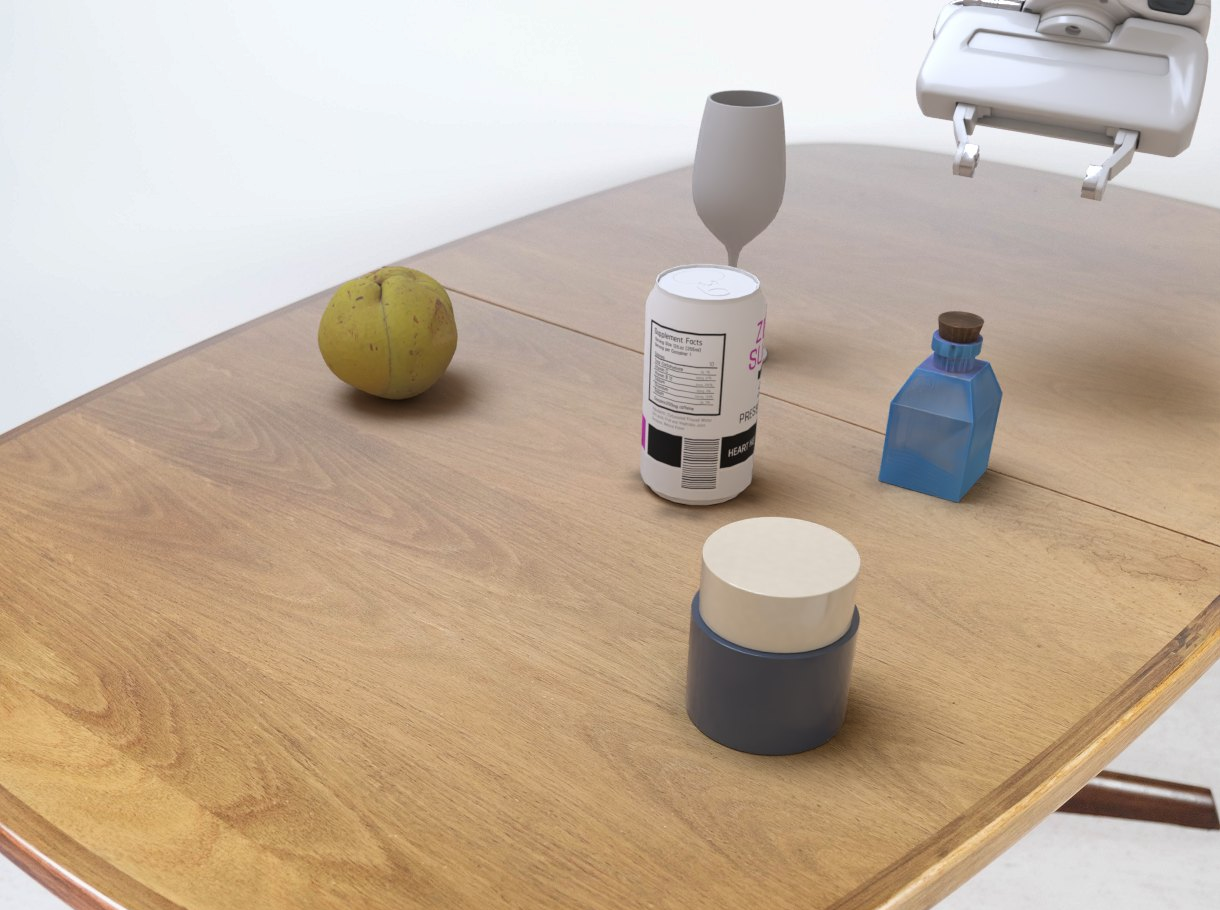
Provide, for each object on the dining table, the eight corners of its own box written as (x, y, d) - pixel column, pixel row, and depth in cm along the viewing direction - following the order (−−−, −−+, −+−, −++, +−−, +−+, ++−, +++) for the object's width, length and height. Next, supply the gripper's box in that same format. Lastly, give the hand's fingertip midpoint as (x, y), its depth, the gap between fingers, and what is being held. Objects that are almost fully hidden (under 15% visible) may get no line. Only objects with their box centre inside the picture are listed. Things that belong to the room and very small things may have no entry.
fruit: (493, 395, 110) (488, 275, 104) (375, 436, 104) (363, 310, 98) (413, 355, 117) (404, 239, 111) (298, 391, 110) (282, 270, 104)
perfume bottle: (986, 470, 101) (1018, 315, 94) (957, 502, 97) (988, 343, 89) (909, 449, 103) (935, 297, 96) (878, 480, 99) (902, 323, 92)
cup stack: (852, 672, 79) (875, 524, 73) (836, 767, 72) (860, 612, 66) (701, 650, 81) (711, 503, 75) (670, 740, 74) (679, 586, 68)
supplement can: (624, 467, 100) (628, 268, 91) (723, 451, 103) (738, 255, 94) (665, 517, 94) (674, 309, 85) (770, 498, 97) (790, 294, 88)
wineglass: (784, 363, 117) (810, 106, 104) (705, 375, 114) (721, 113, 101) (745, 332, 122) (765, 84, 109) (669, 343, 120) (681, 91, 107)
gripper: (945, -37, 98) (884, 135, 97) (1235, 0, 92) (1173, 185, 91) (948, 18, 104) (891, 181, 103) (1221, 57, 98) (1162, 231, 97)
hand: (1025, 183), depth 97 cm, fingers open, 8 cm apart
